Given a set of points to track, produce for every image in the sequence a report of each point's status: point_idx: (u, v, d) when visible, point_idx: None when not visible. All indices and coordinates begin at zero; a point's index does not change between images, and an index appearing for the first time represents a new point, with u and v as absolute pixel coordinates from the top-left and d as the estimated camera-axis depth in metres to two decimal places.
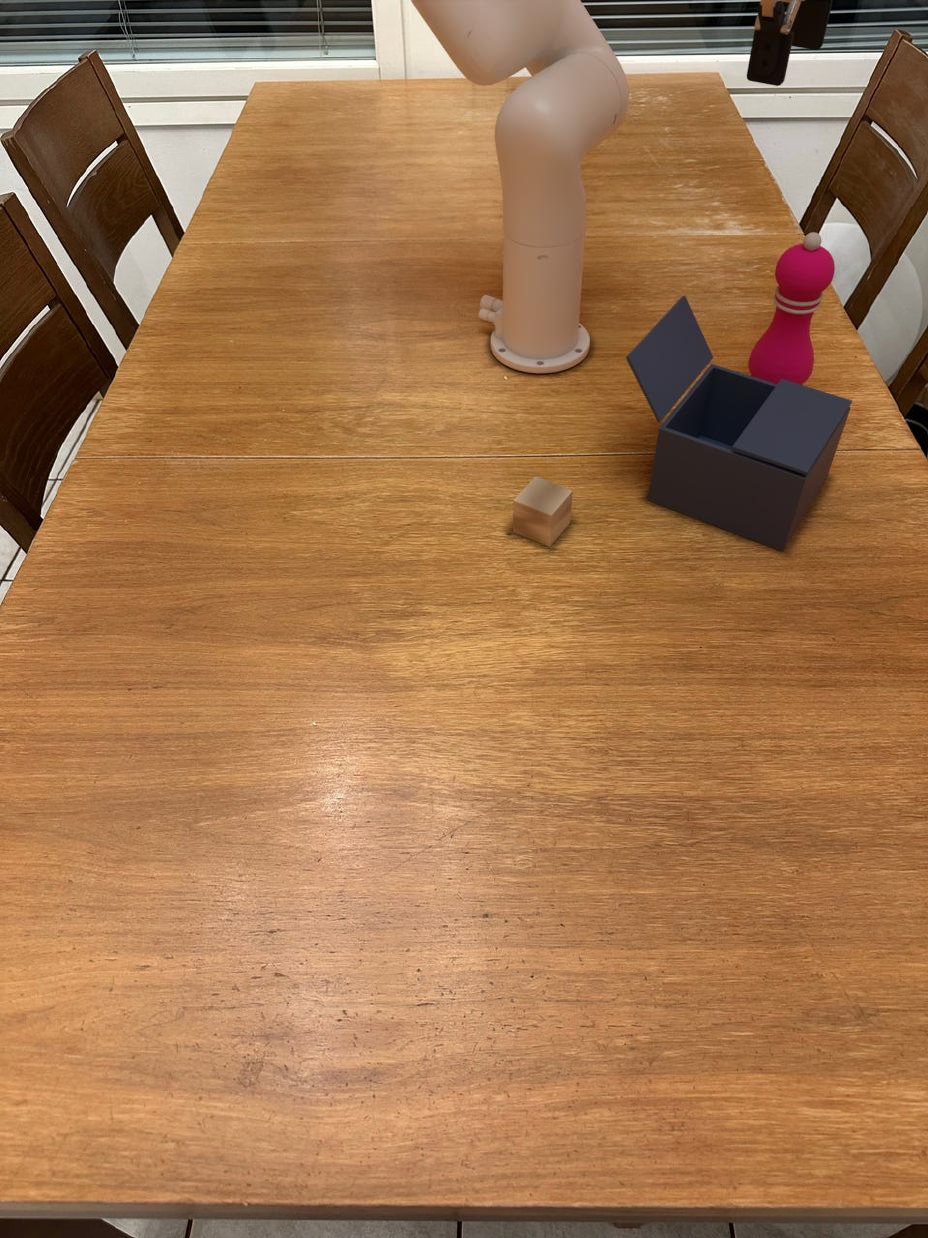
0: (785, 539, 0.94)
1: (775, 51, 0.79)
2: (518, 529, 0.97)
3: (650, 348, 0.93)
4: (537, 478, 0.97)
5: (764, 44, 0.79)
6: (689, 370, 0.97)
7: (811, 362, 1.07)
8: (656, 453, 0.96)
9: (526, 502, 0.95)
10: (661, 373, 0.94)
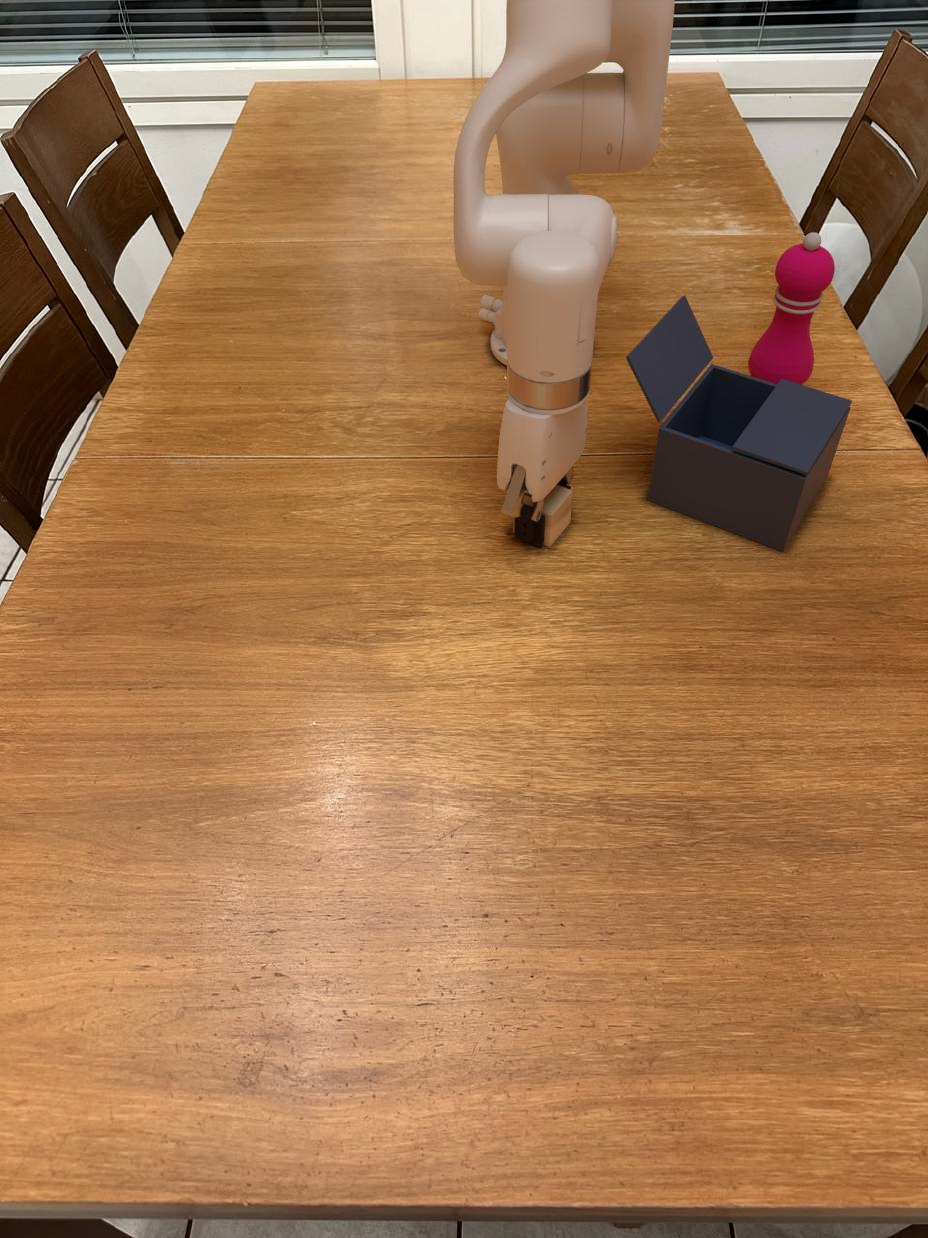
0: (785, 539, 0.94)
1: (531, 529, 0.94)
2: None
3: (650, 348, 0.93)
4: None
5: (522, 522, 0.94)
6: (689, 370, 0.97)
7: (811, 362, 1.07)
8: (656, 453, 0.96)
9: (526, 502, 0.95)
10: (661, 373, 0.94)
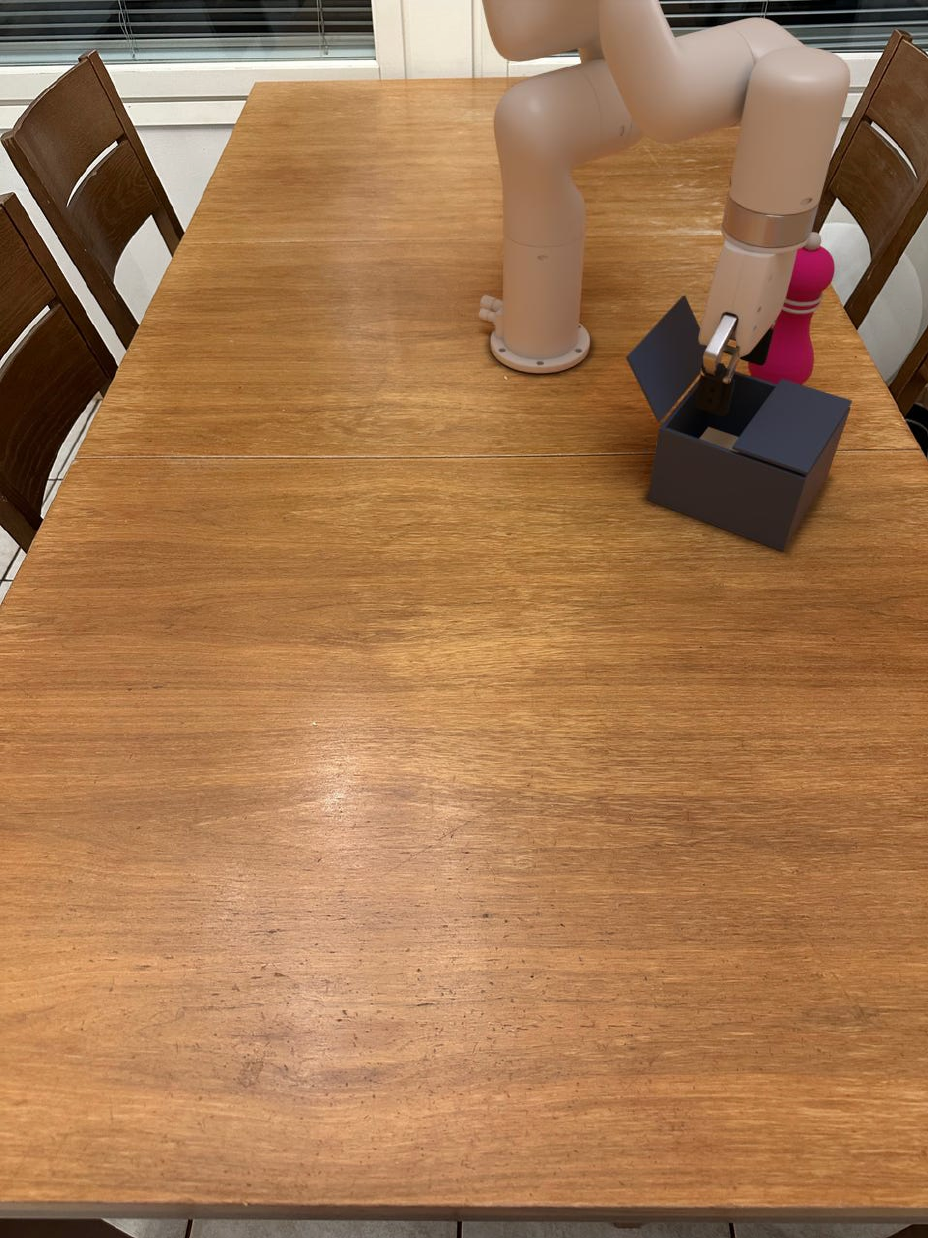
0: (785, 539, 0.94)
1: (719, 394, 0.88)
2: None
3: (650, 348, 0.93)
4: (710, 429, 1.01)
5: (709, 387, 0.88)
6: (689, 370, 0.97)
7: (811, 362, 1.07)
8: (656, 453, 0.96)
9: None
10: (661, 373, 0.94)
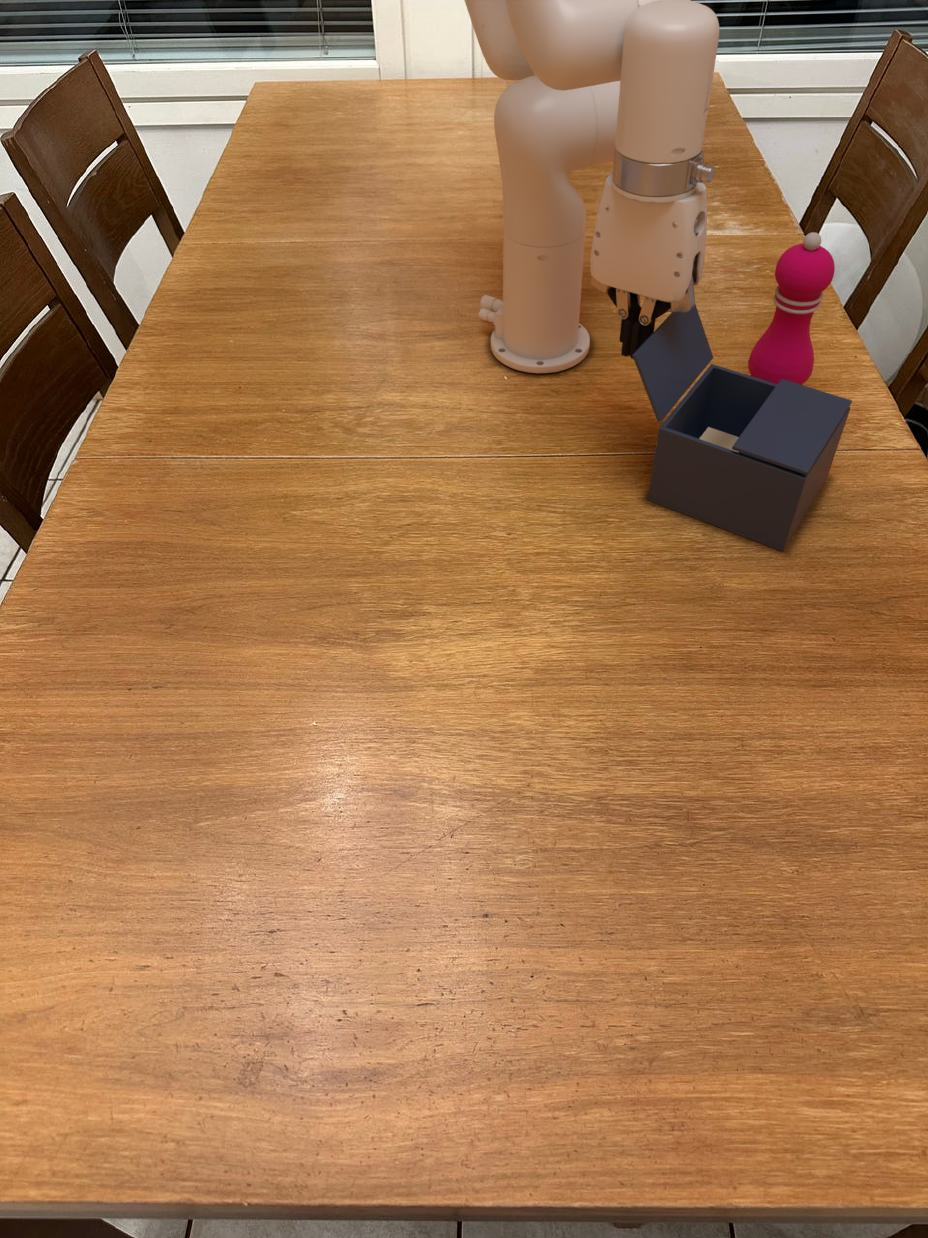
0: (785, 539, 0.94)
1: (621, 326, 0.95)
2: None
3: (656, 347, 0.92)
4: (710, 429, 1.01)
5: None
6: (690, 370, 0.97)
7: (811, 362, 1.07)
8: (656, 453, 0.96)
9: None
10: (664, 372, 0.93)
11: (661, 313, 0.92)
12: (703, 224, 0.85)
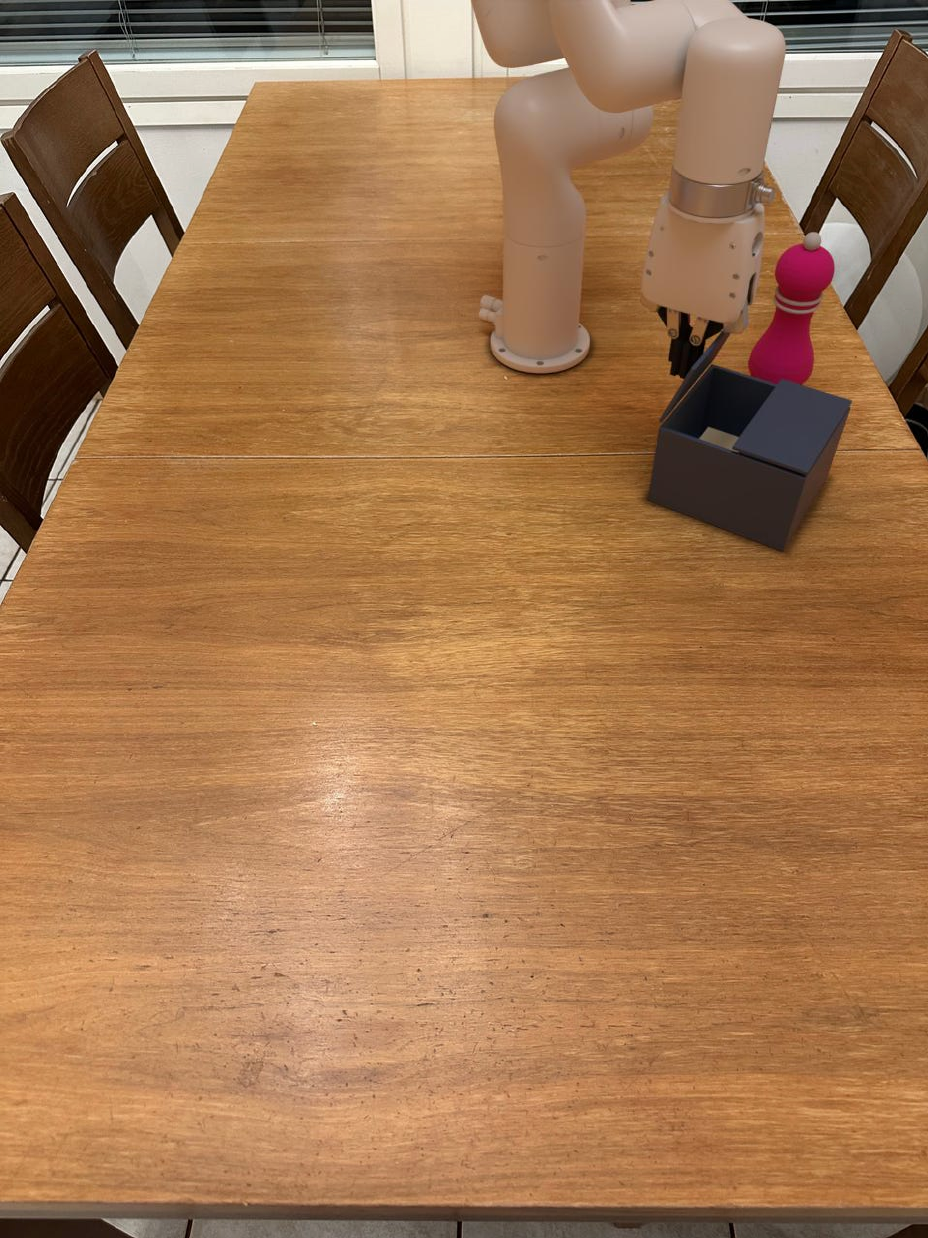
0: (785, 539, 0.94)
1: (670, 345, 0.94)
2: None
3: (705, 359, 0.90)
4: (710, 429, 1.01)
5: None
6: (700, 374, 0.96)
7: (811, 362, 1.07)
8: (656, 453, 0.96)
9: None
10: (691, 380, 0.92)
11: (713, 333, 0.90)
12: (760, 245, 0.84)
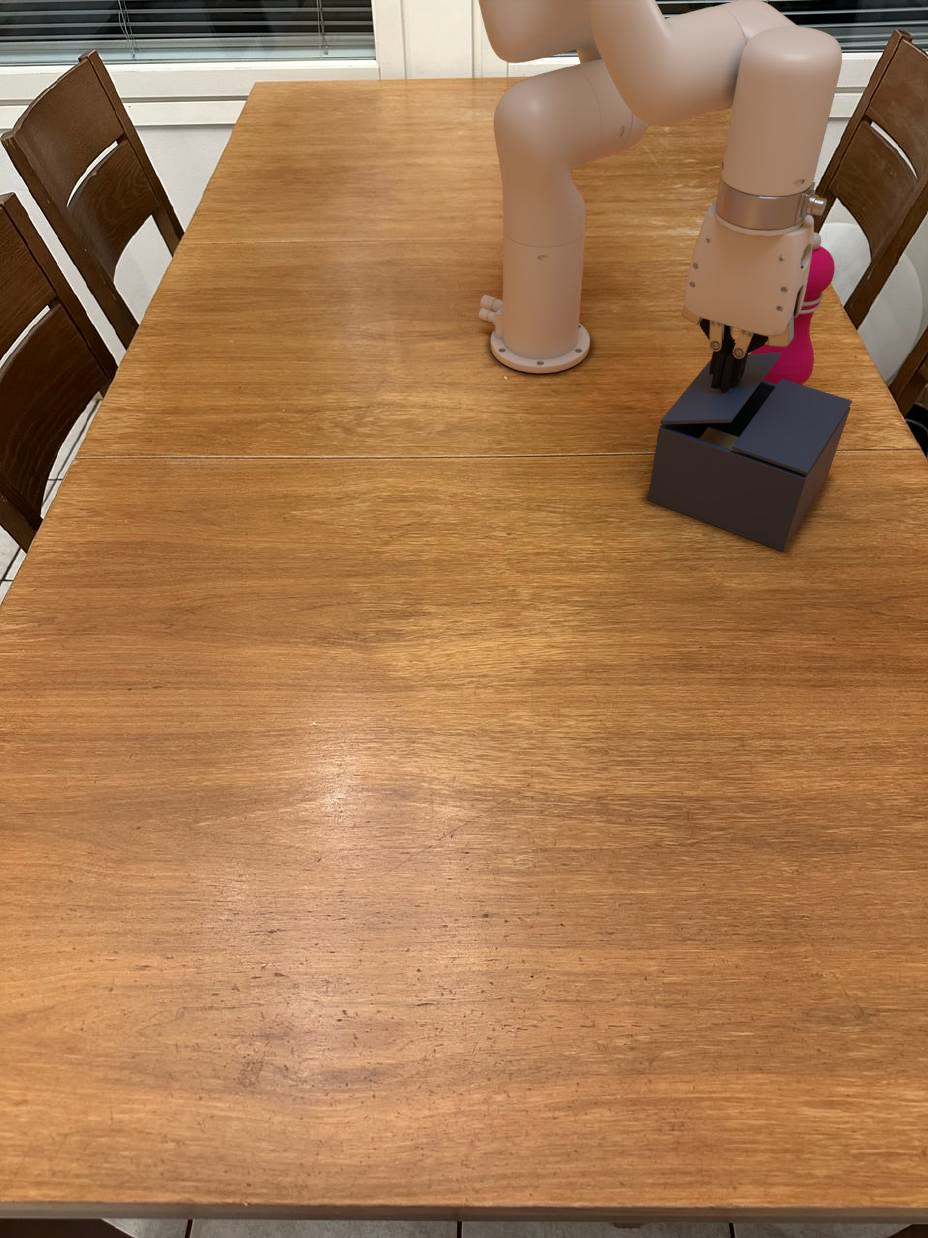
0: (785, 539, 0.94)
1: None
2: None
3: None
4: (710, 429, 1.01)
5: None
6: None
7: (811, 362, 1.07)
8: (656, 453, 0.96)
9: None
10: None
11: (757, 346, 0.88)
12: (808, 257, 0.82)
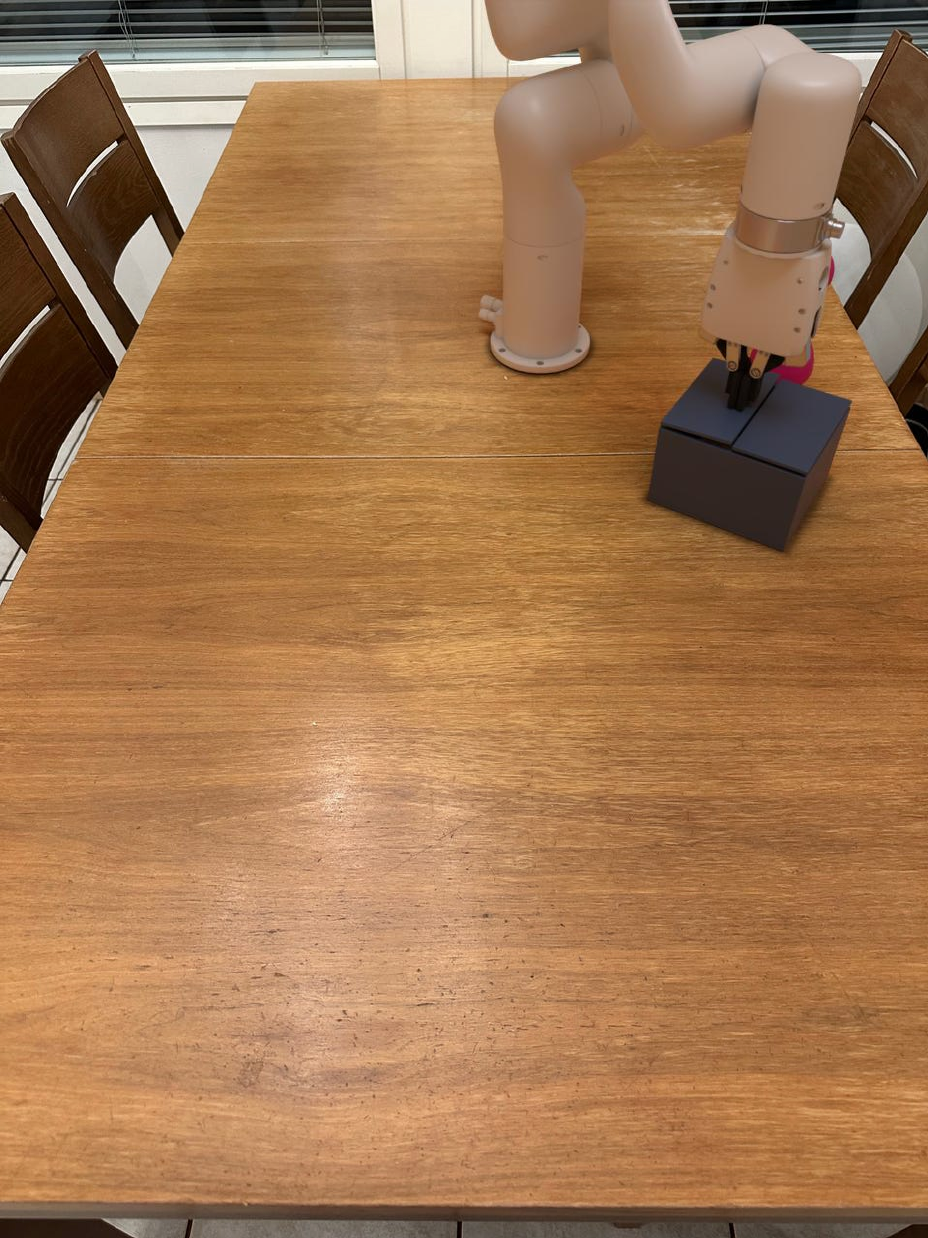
0: (785, 539, 0.94)
1: (728, 377, 0.92)
2: None
3: None
4: None
5: None
6: None
7: (811, 362, 1.07)
8: (656, 453, 0.96)
9: None
10: None
11: (774, 366, 0.89)
12: (826, 279, 0.82)
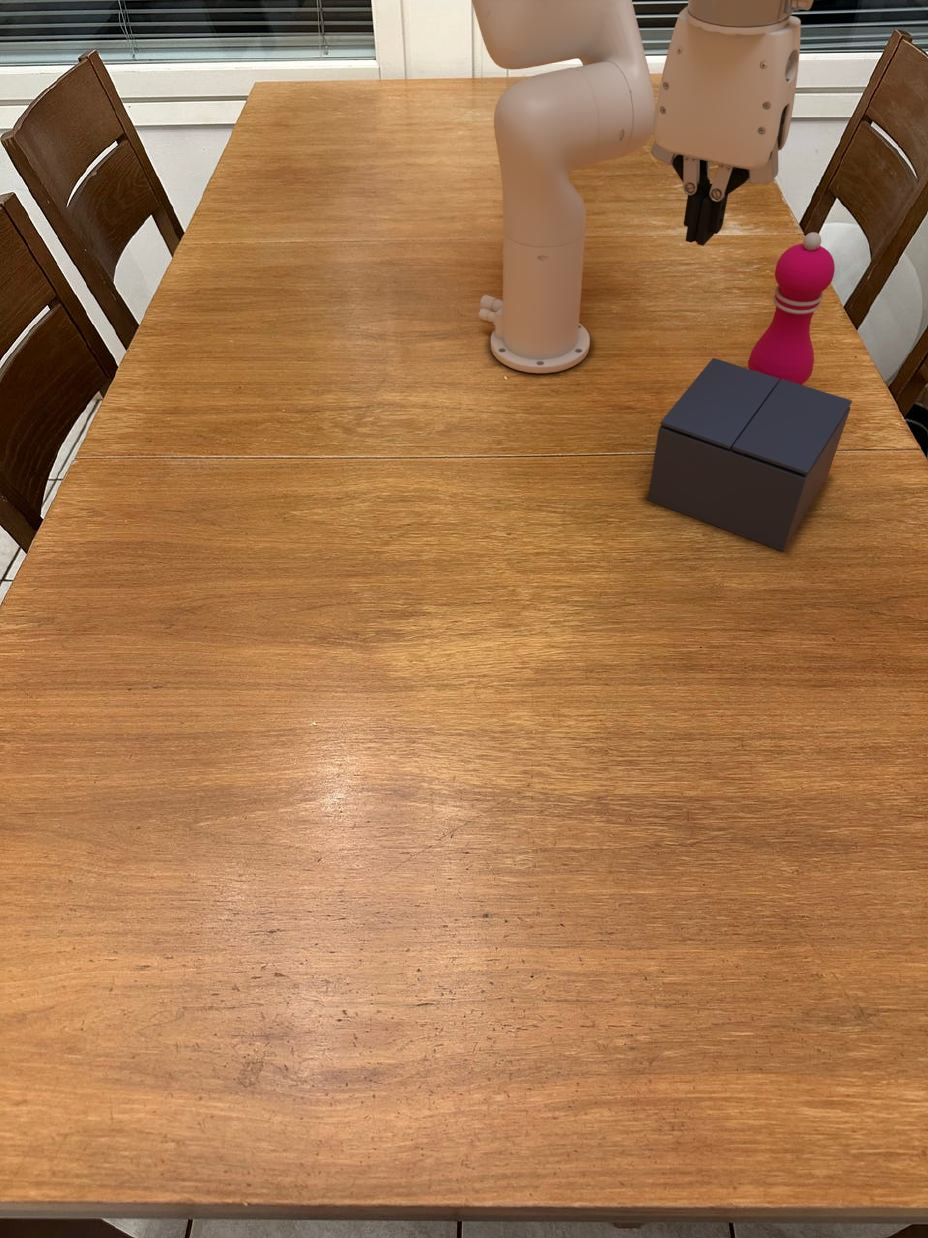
0: (785, 539, 0.94)
1: (686, 205, 0.81)
2: None
3: None
4: None
5: None
6: None
7: (811, 362, 1.07)
8: (656, 453, 0.96)
9: None
10: None
11: (737, 185, 0.78)
12: (795, 68, 0.71)
